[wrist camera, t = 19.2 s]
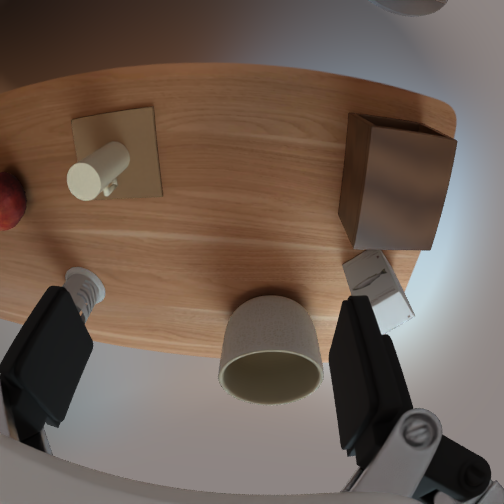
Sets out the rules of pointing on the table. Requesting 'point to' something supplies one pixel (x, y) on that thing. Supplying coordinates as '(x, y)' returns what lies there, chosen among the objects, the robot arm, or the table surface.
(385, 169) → the brown lidded box
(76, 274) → the french press
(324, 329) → the table surface
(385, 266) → the white packaging box
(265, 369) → the planter
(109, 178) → the cream mug
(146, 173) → the mat
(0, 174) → the fruit
